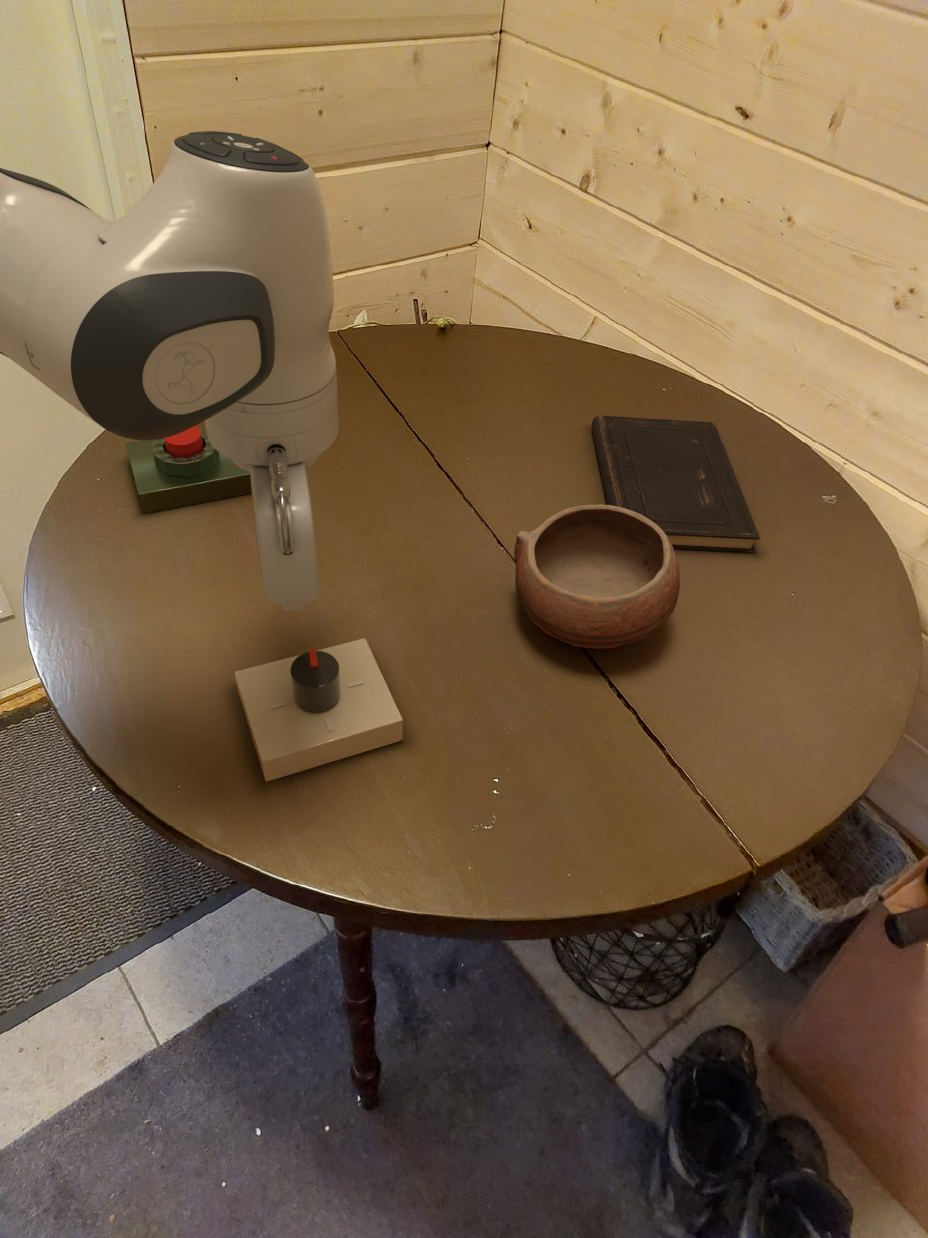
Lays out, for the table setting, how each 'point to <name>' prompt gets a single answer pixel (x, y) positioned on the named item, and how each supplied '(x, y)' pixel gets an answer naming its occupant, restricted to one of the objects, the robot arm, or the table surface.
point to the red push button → (184, 443)
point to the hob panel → (324, 737)
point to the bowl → (597, 576)
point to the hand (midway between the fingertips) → (287, 561)
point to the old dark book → (675, 480)
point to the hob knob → (315, 681)
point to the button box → (183, 475)
